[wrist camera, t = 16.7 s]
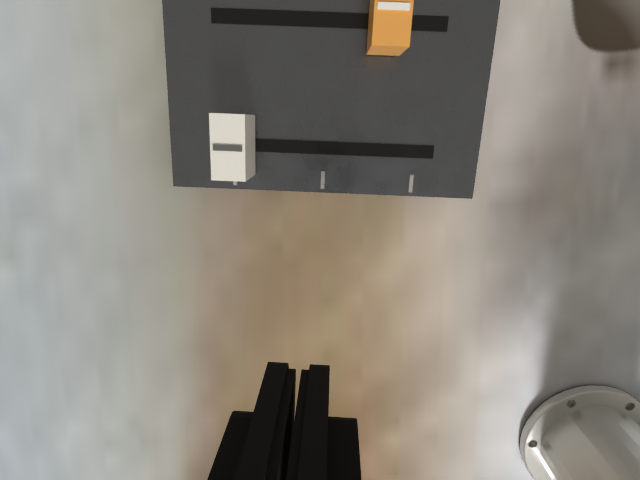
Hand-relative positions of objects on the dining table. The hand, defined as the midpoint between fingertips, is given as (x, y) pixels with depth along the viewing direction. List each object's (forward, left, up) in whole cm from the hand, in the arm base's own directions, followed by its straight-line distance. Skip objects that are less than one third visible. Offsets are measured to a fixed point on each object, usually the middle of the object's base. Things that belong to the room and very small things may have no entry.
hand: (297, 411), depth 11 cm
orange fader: (-4, -14, -23) cm, 28 cm away
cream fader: (+6, -5, -23) cm, 25 cm away
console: (0, -10, -26) cm, 28 cm away
